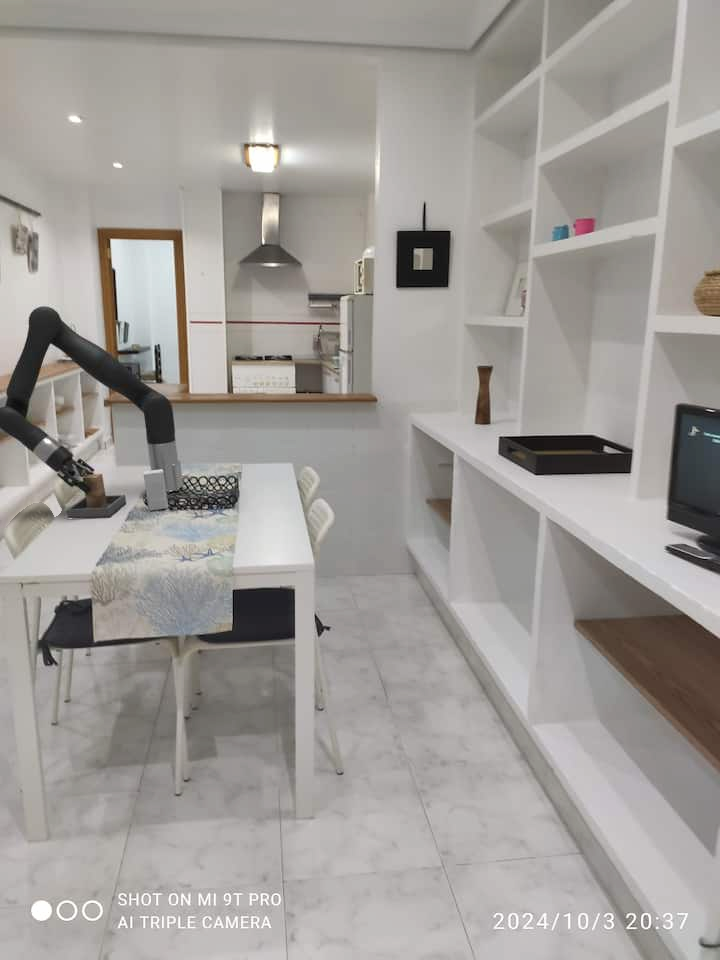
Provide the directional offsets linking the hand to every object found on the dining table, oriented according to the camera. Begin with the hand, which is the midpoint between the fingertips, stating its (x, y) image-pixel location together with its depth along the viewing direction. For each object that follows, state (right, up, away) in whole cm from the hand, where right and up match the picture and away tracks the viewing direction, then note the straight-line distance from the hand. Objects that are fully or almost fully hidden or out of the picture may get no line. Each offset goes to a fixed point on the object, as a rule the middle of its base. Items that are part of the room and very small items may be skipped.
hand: (95, 487), depth 219 cm
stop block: (0, -7, +2) cm, 7 cm away
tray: (0, -7, +2) cm, 8 cm away
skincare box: (+19, -7, +2) cm, 20 cm away
